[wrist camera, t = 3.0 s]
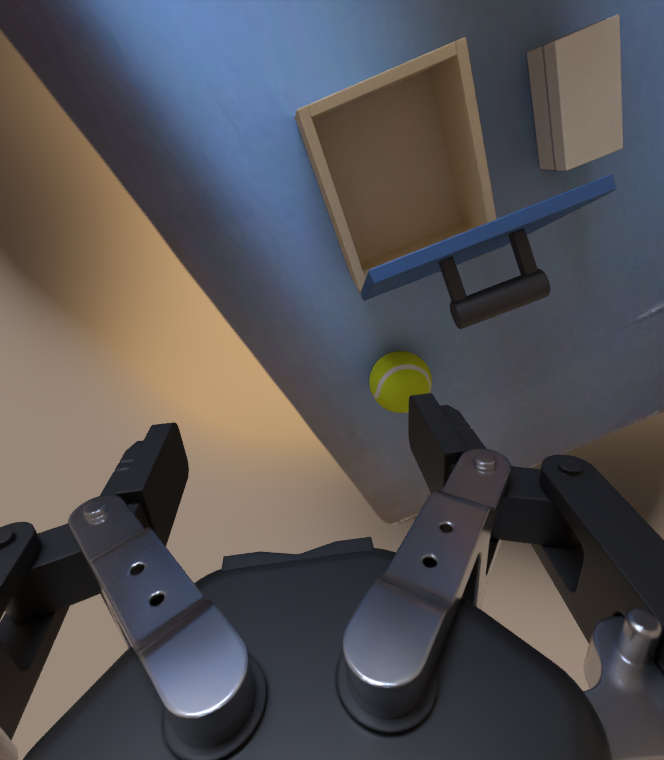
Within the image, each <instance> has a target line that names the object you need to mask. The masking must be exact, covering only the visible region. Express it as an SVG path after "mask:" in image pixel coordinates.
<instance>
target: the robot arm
mask: <svg viewBox="0 0 664 760" xmlns="http://www.w3.org/2000/svg"><path fill="white" fill-rule="evenodd" d="M409 442H410V447H411V450H412V453H413V455H414V457H415V459H416V461H417V463H418V466H419V468H420V470H421V472H422V474H423V477H424V479H425V481H426V483H427V485H428V487H429V490H430V492H431V494H430V495H429V497H428V499H427V501H426V502H425V504H424V506H423V507H422V509H421V511H420V513H419V514H418V516H417V518H416V519H415V521H414V523H413V525H412V527H411V528H410V530H409V532H408V533H407V535H406V537H405V539H404V540H403V542H402V544H401V545H400V547H399V549H398V550H397V552H396V553H395V552H392V551H388V550H384V549H378V548H374V547H373V543H372V539H371V537H366V538H359V539H351V540H343V541H336V542H333V543H330V544H327V545H324V546H321V547H318V548H316V549H313V550H310V551H307V552H304V553H301V554H285V553H271V552H254V553H246V554H239V555H231V556H224V558H223V564H222V569H220V570H217V571H215V572H213V573H211V574H208V575H207V576H205V577H203V578H201V579H200V580H198V581H197V582H195V583H193V582H192V580H191V579H190V578H189V576H188V575H187V574H186V573H185V571H184V570H183V569H182V567H181V566H180V565H179V563H178V562H177V561H176V560H175V558H174V557H173V556H172V555H171V553H170V552H169V551H168V550H167V548H166V544H167V541H168V538H169V535H170V532H171V529H172V526H173V523H174V520H175V517H176V513H177V510H178V507H179V504H180V501H181V498H182V495H183V492H184V489H185V485H186V482H187V479H188V473H189V467H188V460H187V456H186V453H185V449H184V446H183V442H182V438H181V435H180V431H179V428H178V425H177V424H176V423H166V424H157V425H152V426H151V427H150V429H149V431H148V433H147V435H146V437H145V439H144V441H137V442H136V443H135V444H133V445H132V446H131V447H130V448H129V449H127V450H126V451H125V453H124V455H123V457H122V458H121V460H120V463H119V464H118V465H117V467H116V469H115V472H114V473H113V474H112V476H111V477H110V479H109V481H108V482H107V484H106V486H105V488H104V489H103V491H102V493H101V495H100V496H98V497H96V498H93V499H90V500H88V501H86V502H85V503H83V504H81V505H80V506H79V507H77V509H75V510H74V511H73V512H72V514H71V515H70V517H69V520H68V524H65V525H62V526H59V527H56V528H53V529H50V530H47V531H44V532H41V533H38V534H37V533H36V530H35V529H34V527H33V525H32V524H30V523H28V522H17V523H12V524H9V525H5V526H3V527H0V619H1V617H2V615H3V613H4V611H5V612H6V613H5V615H4V617H3V619H2V620H1V622H0V760H18V751H17V748H16V747H15V745H14V744H13V743H12V741H11V740H12V738H13V735H14V733H15V731H16V728H17V726H18V724H19V722H20V719H21V717H22V714H23V712H24V710H25V708H26V706H27V703H28V701H29V699H30V696H31V694H32V692H33V689H34V687H35V685H36V683H37V680H38V678H39V675H40V673H41V671H42V669H43V666H44V664H45V662H46V659H47V657H48V655H49V653H50V650H51V648H52V646H53V643H54V640H55V639H56V637H57V634H58V632H59V630H60V627H61V625H62V623H63V620H64V618H65V616H66V613H67V611H68V609H69V606H70V605H73V604H75V603H78V602H80V601H83V600H85V599H88V598H90V597H93V596H95V595H98V594H101V597H102V599H103V600H104V603H105V604H106V606H107V608H108V610H109V612H110V614H111V616H112V618H113V620H114V622H115V624H116V626H117V628H118V630H119V632H120V634H121V636H122V638H123V640H124V642H125V644H126V646H127V648H128V650H127V651H126V652H125V653H124V654H123V655H122V656H121V657H120V658H119V659H118V660H117V661H116V662H115V663H114V664H113V665H112V666H111V667H110V668H109V669H108V670H107V671H106V672H105V673H104V674H103V675H102V676H101V677H100V679H98V680H97V681H96V683H94V684H93V686H91V687H90V689H89V690H88V691H87V692H86V693H85V694H84V695H83V696H82V697H81V698H80V699H79V700H78V701H77V702H76V703H75V704H74V705H73V706H72V707H71V708H70V709H69V710H68V711H67V712H66V713H65V714H64V715H63V716H62V717H61V718H60V719H59V720H58V721H57V722H56V723H55V724H54V725H53V726H52V728H51V729H50V730H49V731H48V732H47V733H46V734H45V735H44V736H43V737H42V738H41V739H40V740H39V741H38V742H37V743H36V744H35V745H34V747H33V748H32V749H31V750H30V751H29V752H28V753H27V755H26V756H25V757H24V759H23V760H664V540H663V539H662V538H661V537H660V536H659V535H658V534H657V533H656V532H655V531H654V530H653V528H652V527H651V526H650V525H649V524H648V523H647V522H646V521H645V520H644V519H643V518H642V517H641V516H640V515H639V514H638V513H637V512H636V511H635V510H634V508H633V507H632V506H631V505H630V504H629V503H628V502H627V501H626V500H625V499H624V498H623V497H622V496H621V495H620V494H619V493H618V492H617V491H616V490H615V488H614V487H613V486H612V485H611V484H610V483H609V482H608V481H607V480H606V479H605V478H604V477H603V476H602V475H601V474H600V473H599V472H598V471H597V469H596V468H594V466H592V465H591V464H590V463H588V462H586V461H585V460H582V459H580V458H577V457H574V456H569V455H553V456H549V457H547V458H545V459H544V460H543V462H542V466H541V469H532V468H521V467H514V466H511V465H510V462H509V460H508V459H507V458H506V457H505V456H504V455H502V454H500V453H498V452H496V451H493V450H489V449H486V447H485V446H484V445H483V443H482V442H481V441H480V439H479V438H478V437H477V435H476V434H475V432H474V431H473V430H472V429H471V428H470V426H469V424H468V423H467V422H466V421H465V419H464V417H463V416H462V415H461V413H460V412H459V411H457V410H456V409H454V408H452V407H450V406H449V405H444V406H440V405H439V404H438V402H437V401H436V399H435V398H434V396H433V395H432V394H431V393H427V394H418V395H410V396H409ZM501 540H506V541H515V542H522V543H530V544H531V545H532V547H533V548H534V550H535V552H536V554H537V555H538V557H539V559H540V560H541V562H542V564H543V566H544V567H545V569H546V571H547V572H548V574H549V576H550V578H551V579H552V581H553V583H554V585H555V586H556V588H557V590H558V591H559V593H560V595H561V597H562V598H563V600H564V602H565V603H566V605H567V607H568V609H569V610H570V612H571V613H572V615H573V617H574V619H575V621H576V622H577V624H578V626H579V627H580V629H581V631H582V633H583V634H584V636H585V638H586V639H587V641H588V643H589V647H588V651H587V654H586V658H585V661H584V674H585V677H586V680H587V683H588V685H589V688H590V689H589V690H587V691H582V690H581V688H580V687H579V686H578V685H577V683H576V682H575V681H574V680H573V679H572V678H571V677H570V676H569V675H568V674H567V673H566V672H565V671H564V670H563V669H561V668H560V667H559V666H558V665H556V664H555V663H553V662H552V661H551V660H550V659H548V658H547V657H545V656H544V655H543V654H541V653H540V652H539V651H537V650H536V649H534V648H533V647H532V646H530V645H529V644H527V643H526V642H525V641H523V640H522V639H521V638H519V637H518V636H516V635H515V634H514V633H512V632H511V631H509V630H508V629H507V628H505V627H504V626H503V625H501V624H500V623H498V622H497V621H496V620H494V619H493V618H492V617H490V616H489V615H487V614H486V613H485V612H483V611H482V610H481V607H482V603H483V598H484V593H485V589H486V586H487V583H488V579H489V577H490V574H491V571H492V568H493V565H494V562H495V559H496V556H497V553H498V550H499V547H500V544H501Z"/></svg>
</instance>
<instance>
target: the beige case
mask: <svg viewBox="0 0 664 760" xmlns="http://www.w3.org/2000/svg"><path fill="white" fill-rule="evenodd" d="M527 60H528V69H529V77H530V86H531V95H532V104H533V112H534V121H535V130H536V139H537V147H538V156H539V165H540V169H547V170H554V171H557V170H561V171H567V170H570V169H572V168H575V167H577V166H580V165H582V164H585V163H587V162H590V161H592V160H595V159H598V158H600V157H603V156H605V155H608V154H610V153H613V152H615V151H618V150H620V149H622V148H623V129H622V92H621V54H620V17H619V14H618V15H615V16H613V17H610V18H608V19H604V20H601V21H599V22H597V23H594V24H592V25H590V26H587V27H585V28H582V29H580V30H578V31H575V32H573V33H571V34H568V35H566V36H564V37H561V38H559V39H557V40H554V41H552V42H550V43H547V44H545V45H542V46H541V47H539V48H537V49H534V50H532V51H529V52H527Z"/></svg>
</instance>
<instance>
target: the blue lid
mask: <svg viewBox="0 0 664 760" xmlns="http://www.w3.org/2000/svg"><path fill="white" fill-rule="evenodd" d="M615 190H616V186H615V182H614V179H613V175H608V176H605V177H602V178H600V179H597V180H595V181H592V182H590V183H587V184H585V185H582V186H580V187H577V188H575V189H572V190H569V191H567V192H564V193H562V194H559V195H557V196H554V197H552V198H549V199H547V200H544V201H542V202H539V203H536V204H534V205H531V206H529V207H526V208H524V209H521V210H519V211H516V212H514V213H511V214H509V215H506V216H503V217H501V218H498V219H496V220H493V221H491V222H488V223H486V224H483V225H481V226H478V227H476V228H473V229H470V230H468V231H465V232H463V233H460V234H458V235H455V236H453V237H450V238H448V239H445V240H443V241H440V242H437V243H435V244H432V245H430V246H427V247H425V248H422V249H420V250H417V251H415V252H412V253H410V254H407V255H405V256H402V257H399V258H397V259H394V260H392V261H389V262H387V263H384V264H382V265H379V266H377V267H374V268H372V269H369V271H368V273H367V276H366V279H365V282H364V284H363V287H362V290H361V295H362V298H363V300H367V299H369V298H372V297H375V296H377V295H380V294H382V293H385V292H388V291H390V290H393V289H395V288H398V287H400V286H403V285H406V284H408V283H411V282H413V281H416V280H418V279H421V278H424V277H426V276H429V275H431V274H434V273H436V272H439V271H441V272H442V275H443V278H444V280H445V283H446V286H447V289H448V292H449V295H450V298H451V301H452V302H451V303H450V311H451V315H452V318H453V320H454V322H455V324H456V326H457V327H458V328H459V329H462V328H465V327H468V326H470V325H473V324H476V323H478V322H481V321H484V320H486V319H489V318H492V317H494V316H497V315H500V314H502V313H505V312H508V311H510V310H513V309H516V308H518V307H521V306H524V305H526V304H529V303H532V302H534V301H537V300H540V299H542V298H545V297H547V296H548V295H549V294H550V284H549V280H548V278H547V276H546V274H545V273H544V272H543V271H542V270H540V269H537V266H536V263H535V260H534V257H533V253H532V250H531V247H530V244H529V241H528V238H527V234H529V233H531V232H533V231H535V230H537V229H539V228H541V227H543V226H545V225H547V224H549V223H551V222H553V221H555V220H557V219H559V218H561V217H563V216H565V215H567V214H569V213H571V212H573V211H575V210H577V209H579V208H581V207H583V206H585V205H587V204H589V203H591V202H593V201H595V200H597V199H599V198H601V197H603V196H605V195H607V194H609V193H611V192H613V191H615ZM509 243H511V246H512V249H513V252H514V255H515V258H516V261H517V264H518V267H519V270H520V273H521V275H520V276H518V277H515V278H513V279H510V280H507V281H505V282H502V283H499V284H497V285H494V286H492V287H489V288H486V289H484V290H481V291H479V292H476V293H473V294H471V295H468V296H466V293H465V290H464V287H463V285H462V282H461V279H460V276H459V273H458V270H457V267H456V265H457V264H460V263H462V262H465V261H467V260H470V259H473V258H475V257H478V256H480V255H483V254H485V253H488V252H491V251H493V250H496V249H498V248H501V247H503V246H505V245H507V244H509Z"/></svg>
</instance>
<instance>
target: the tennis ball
mask: <svg viewBox="0 0 664 760" xmlns="http://www.w3.org/2000/svg"><path fill="white" fill-rule="evenodd" d="M369 384H370V390H371V393H372V394H373V396H374V399H375V400H376V401H377V402H378V403H379V404H380V405H381V406H382V407H383V408H385V409H387V410H389V411H392V412H397V413H405V412H409V396H410V395H418V394H427V393H430V392H431V388H432V376H431V372H430V370H429V368H428V366H427V364H426V363H425V362H424V361H423V360H422V359H421V358H420V357H419V356H417V355H415V354H413V353H410V352H406V351H395V352H391V353H389V354H386V355H385V356H383V357H382V358H380V359H379V360H378V361H377V362H376V364H375V365H374V367H373V369H372V371H371V374H370V379H369Z"/></svg>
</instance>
